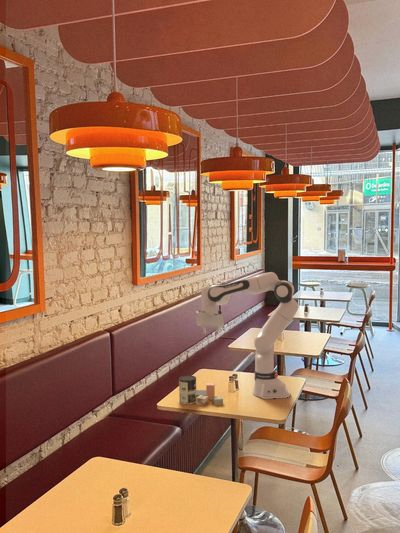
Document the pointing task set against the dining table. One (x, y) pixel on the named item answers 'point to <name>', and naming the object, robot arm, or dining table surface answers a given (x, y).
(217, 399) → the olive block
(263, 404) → the dining table surface
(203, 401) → the mottled white pinkish lump
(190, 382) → the coffee can
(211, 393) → the pillar
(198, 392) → the pad
